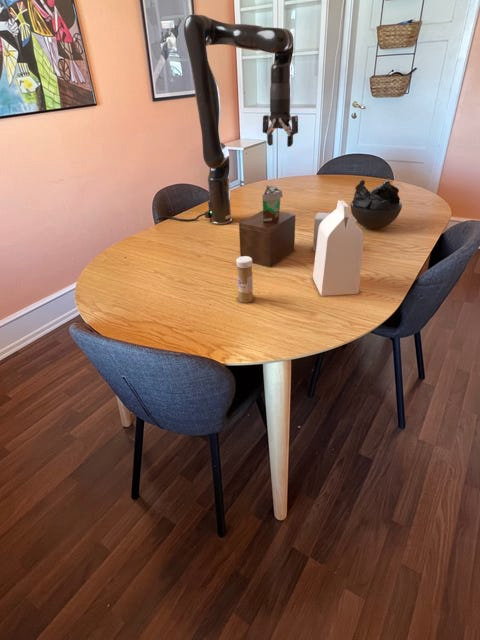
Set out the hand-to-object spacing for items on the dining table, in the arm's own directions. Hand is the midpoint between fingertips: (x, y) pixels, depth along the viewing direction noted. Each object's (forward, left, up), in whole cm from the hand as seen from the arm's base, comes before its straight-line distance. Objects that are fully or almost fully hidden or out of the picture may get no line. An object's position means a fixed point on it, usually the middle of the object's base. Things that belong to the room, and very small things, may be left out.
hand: (279, 145), depth 147 cm
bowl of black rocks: (+34, +20, -33) cm, 52 cm away
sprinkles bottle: (+23, -57, -33) cm, 70 cm away
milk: (+42, -35, -33) cm, 64 cm away
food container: (+13, -25, -19) cm, 34 cm away
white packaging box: (+26, -10, -33) cm, 43 cm away
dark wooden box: (+11, -26, -33) cm, 44 cm away
